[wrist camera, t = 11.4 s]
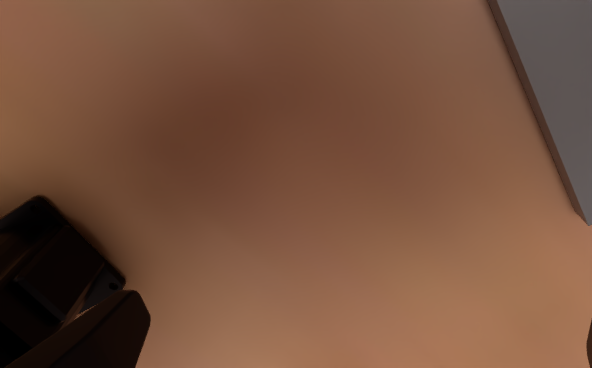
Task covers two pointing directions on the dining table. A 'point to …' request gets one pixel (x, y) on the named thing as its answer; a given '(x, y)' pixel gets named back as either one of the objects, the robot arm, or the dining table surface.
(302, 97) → the dining table surface
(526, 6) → the slate tile
